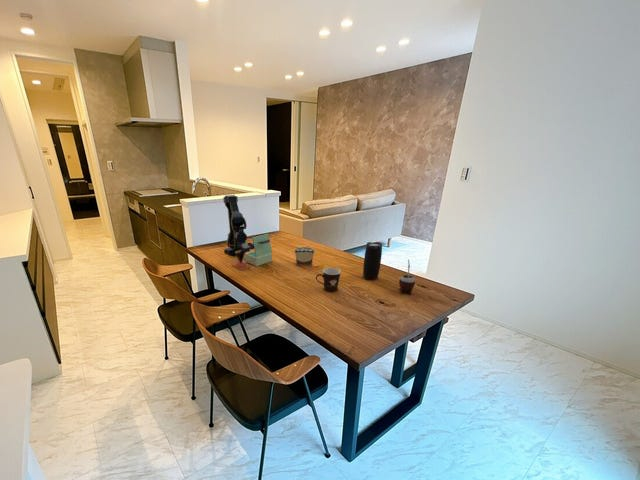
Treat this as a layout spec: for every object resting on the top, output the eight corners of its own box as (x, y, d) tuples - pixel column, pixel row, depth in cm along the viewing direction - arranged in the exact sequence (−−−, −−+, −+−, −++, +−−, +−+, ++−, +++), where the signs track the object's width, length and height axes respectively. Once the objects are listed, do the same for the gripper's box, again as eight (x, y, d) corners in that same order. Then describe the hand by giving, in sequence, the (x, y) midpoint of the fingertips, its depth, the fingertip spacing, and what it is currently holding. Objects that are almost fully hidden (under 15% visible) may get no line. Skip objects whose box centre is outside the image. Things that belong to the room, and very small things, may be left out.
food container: (313, 261, 188) (314, 246, 184) (314, 265, 182) (314, 250, 178) (294, 261, 189) (294, 246, 185) (294, 265, 183) (294, 249, 179)
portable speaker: (376, 274, 168) (381, 241, 160) (379, 281, 159) (384, 246, 151) (361, 273, 169) (365, 240, 161) (363, 280, 161) (367, 246, 153)
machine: (245, 261, 191) (245, 253, 189) (260, 256, 198) (260, 249, 196) (256, 266, 183) (256, 258, 181) (272, 261, 190) (271, 253, 188)
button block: (232, 266, 184) (231, 261, 183) (240, 263, 188) (240, 258, 187) (241, 270, 177) (241, 265, 176) (250, 267, 181) (249, 263, 180)
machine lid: (251, 237, 178) (256, 237, 174) (267, 233, 186) (272, 233, 182) (255, 257, 181) (260, 257, 177) (271, 252, 188) (276, 252, 185)
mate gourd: (406, 296, 144) (411, 267, 138) (393, 289, 150) (397, 262, 144) (416, 292, 147) (422, 264, 141) (403, 286, 153) (408, 259, 147)
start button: (236, 264, 182) (236, 262, 181) (241, 263, 184) (241, 260, 184) (240, 266, 180) (239, 263, 179) (244, 264, 182) (244, 262, 181)
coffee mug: (340, 286, 154) (341, 269, 150) (337, 294, 147) (339, 275, 143) (318, 284, 158) (319, 266, 154) (314, 291, 151) (315, 272, 146)
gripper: (233, 243, 164) (235, 269, 170) (259, 237, 175) (260, 261, 181) (222, 239, 171) (224, 264, 178) (248, 233, 183) (249, 257, 189)
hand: (240, 262), depth 181 cm, fingers closed, pressing on start button
